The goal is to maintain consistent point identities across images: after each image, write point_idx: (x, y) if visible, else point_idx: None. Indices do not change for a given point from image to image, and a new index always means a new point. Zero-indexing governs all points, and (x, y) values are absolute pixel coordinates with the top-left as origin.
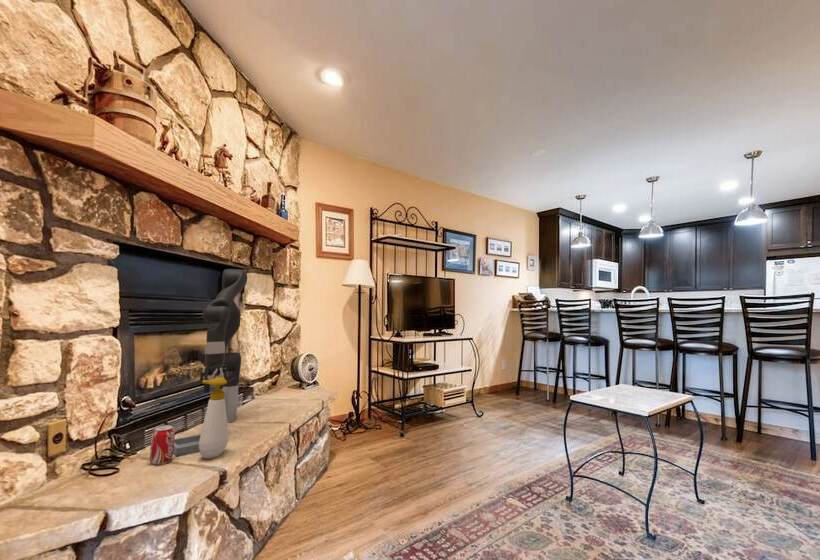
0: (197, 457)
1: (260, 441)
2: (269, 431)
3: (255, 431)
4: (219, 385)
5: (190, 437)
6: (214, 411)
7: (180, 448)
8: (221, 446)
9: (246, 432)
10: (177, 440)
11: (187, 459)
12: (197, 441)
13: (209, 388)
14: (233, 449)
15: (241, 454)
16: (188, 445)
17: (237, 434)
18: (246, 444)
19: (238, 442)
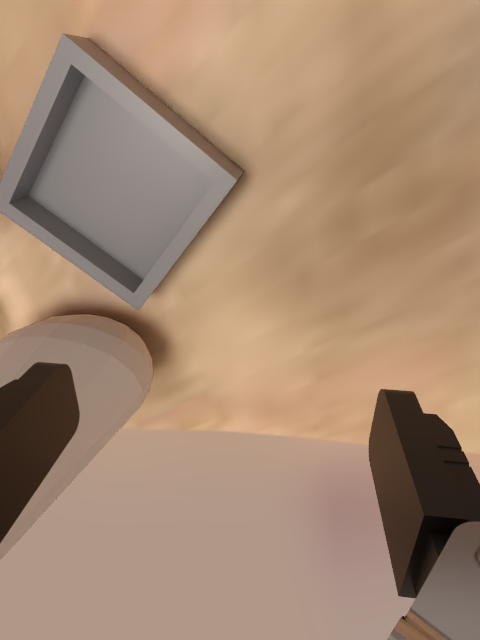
0: (57, 292)
1: (299, 434)
2: (454, 423)
3: (454, 364)
4: None
5: (165, 139)
6: None
7: (10, 216)
8: None
9: (434, 329)
10: (100, 85)
11: (23, 266)
12: (199, 172)
13: (38, 469)
14: (183, 378)
15: (147, 423)
16: (48, 235)
17: (393, 300)
18: (251, 399)
19: (268, 360)
